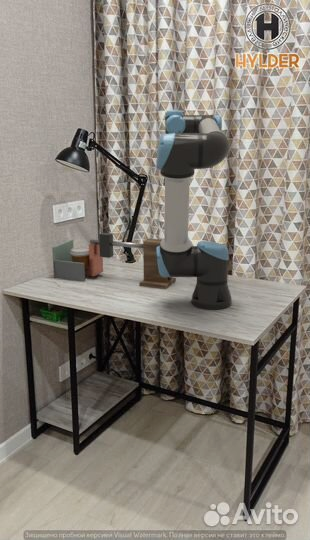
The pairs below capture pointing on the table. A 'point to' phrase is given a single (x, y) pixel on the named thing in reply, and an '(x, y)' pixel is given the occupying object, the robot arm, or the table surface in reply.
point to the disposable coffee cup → (81, 255)
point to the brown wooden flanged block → (153, 267)
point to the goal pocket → (66, 263)
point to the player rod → (103, 252)
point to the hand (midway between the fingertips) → (173, 199)
